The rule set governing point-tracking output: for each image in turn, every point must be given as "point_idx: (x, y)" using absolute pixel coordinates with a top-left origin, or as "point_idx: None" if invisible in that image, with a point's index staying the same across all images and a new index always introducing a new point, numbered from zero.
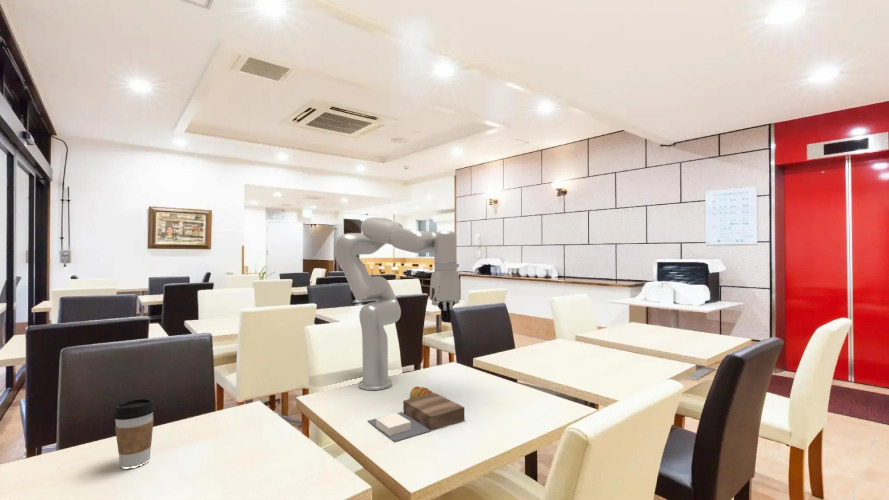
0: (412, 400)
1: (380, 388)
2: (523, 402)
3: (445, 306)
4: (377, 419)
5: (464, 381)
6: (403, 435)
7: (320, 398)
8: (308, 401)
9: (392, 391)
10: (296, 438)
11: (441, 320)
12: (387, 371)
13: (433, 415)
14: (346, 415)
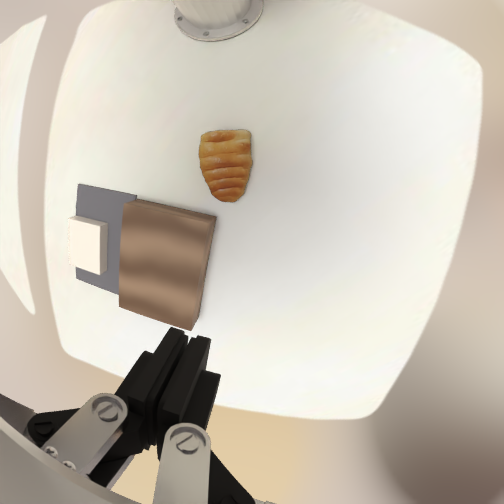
0: (136, 219)
1: (199, 39)
2: (353, 348)
3: (112, 467)
4: (68, 223)
5: (408, 161)
6: (90, 275)
7: (97, 26)
8: (79, 32)
9: (214, 64)
10: (15, 167)
11: (170, 328)
12: (230, 8)
13: (124, 307)
14: (72, 131)
